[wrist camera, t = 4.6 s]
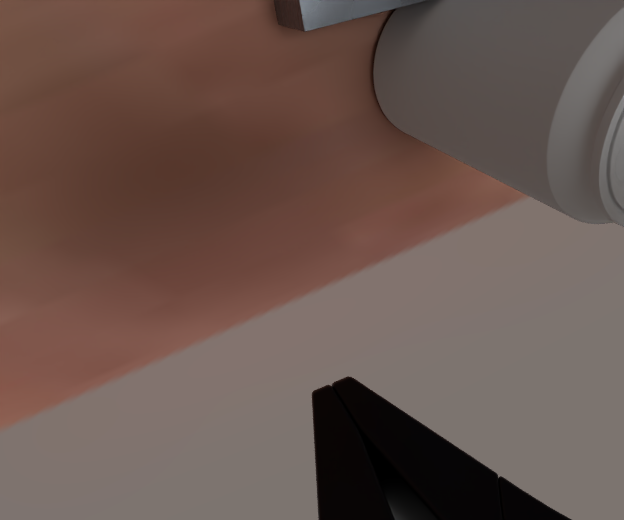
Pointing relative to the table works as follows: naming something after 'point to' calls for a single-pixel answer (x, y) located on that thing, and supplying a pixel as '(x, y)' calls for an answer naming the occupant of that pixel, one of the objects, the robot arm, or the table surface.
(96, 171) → the table surface
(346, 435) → the robot arm
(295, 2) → the jig plate
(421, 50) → the beverage can
